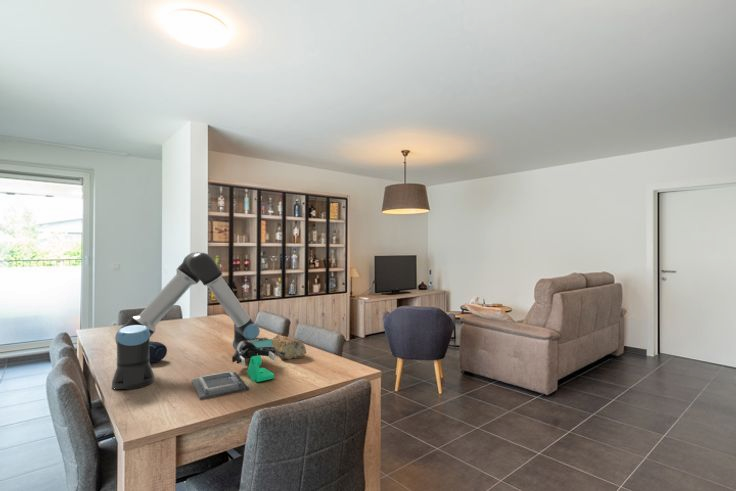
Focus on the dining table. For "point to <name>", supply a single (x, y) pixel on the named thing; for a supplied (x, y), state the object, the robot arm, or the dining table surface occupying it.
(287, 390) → the dining table surface
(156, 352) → the portable speaker
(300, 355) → the petrified wood
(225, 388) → the plate
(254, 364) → the camera mount
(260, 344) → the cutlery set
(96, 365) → the dining table surface
